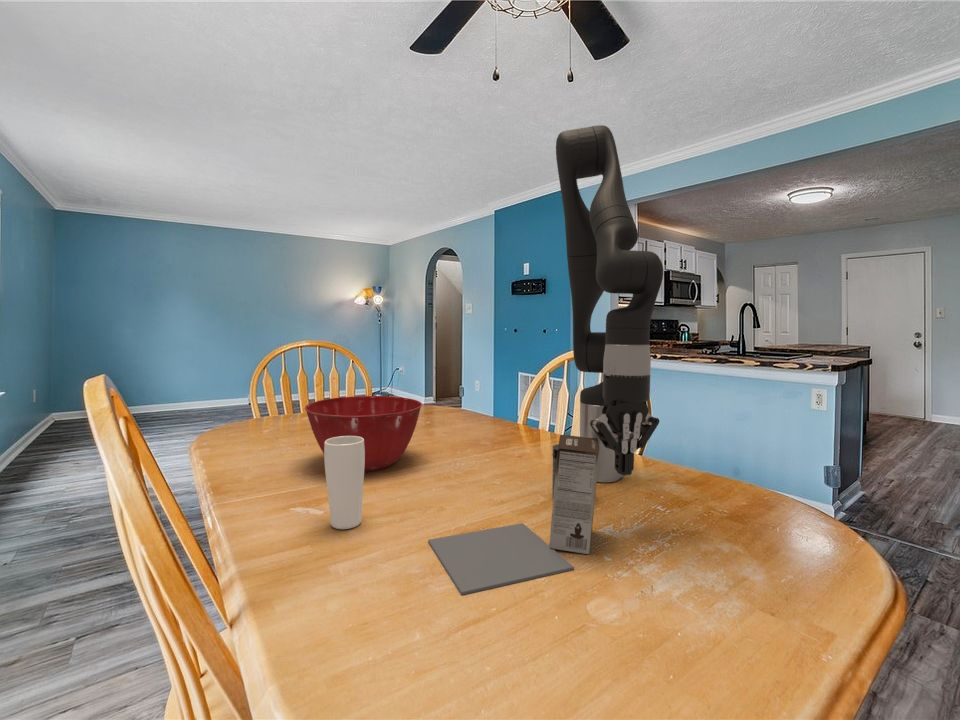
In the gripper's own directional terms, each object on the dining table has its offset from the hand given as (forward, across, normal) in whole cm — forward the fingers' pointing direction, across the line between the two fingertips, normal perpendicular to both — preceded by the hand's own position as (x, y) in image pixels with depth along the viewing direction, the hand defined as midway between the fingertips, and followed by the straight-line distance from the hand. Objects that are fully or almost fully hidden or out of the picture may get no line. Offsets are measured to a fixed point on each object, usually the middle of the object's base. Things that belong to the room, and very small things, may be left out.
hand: (623, 473), depth 79 cm
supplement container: (+10, +1, -16) cm, 19 cm away
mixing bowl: (+10, +36, -55) cm, 66 cm away
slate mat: (+10, +23, 0) cm, 25 cm away
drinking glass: (+10, +44, -19) cm, 49 cm away
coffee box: (+10, +10, 0) cm, 14 cm away
